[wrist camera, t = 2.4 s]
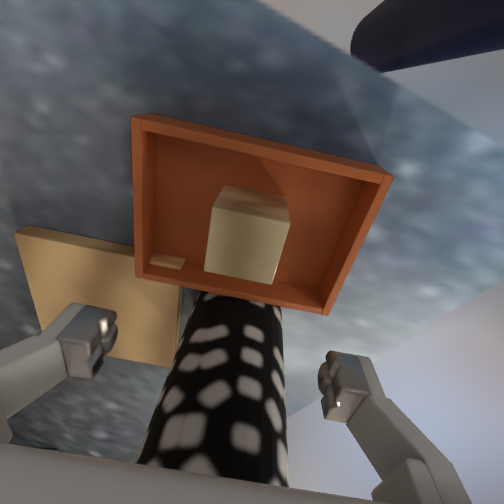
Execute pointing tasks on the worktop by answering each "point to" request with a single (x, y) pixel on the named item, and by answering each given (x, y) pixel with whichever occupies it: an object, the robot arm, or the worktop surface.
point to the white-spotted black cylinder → (224, 395)
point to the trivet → (104, 290)
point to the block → (246, 234)
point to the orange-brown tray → (254, 178)
